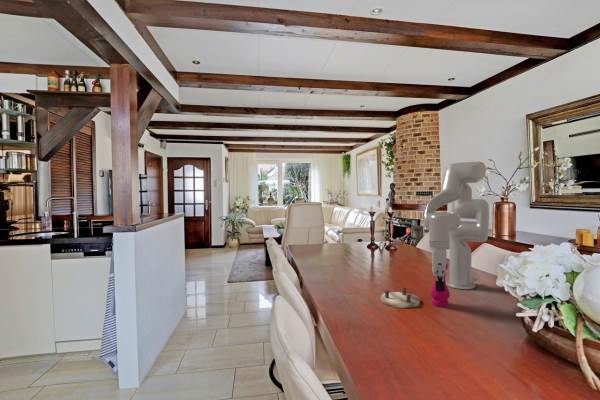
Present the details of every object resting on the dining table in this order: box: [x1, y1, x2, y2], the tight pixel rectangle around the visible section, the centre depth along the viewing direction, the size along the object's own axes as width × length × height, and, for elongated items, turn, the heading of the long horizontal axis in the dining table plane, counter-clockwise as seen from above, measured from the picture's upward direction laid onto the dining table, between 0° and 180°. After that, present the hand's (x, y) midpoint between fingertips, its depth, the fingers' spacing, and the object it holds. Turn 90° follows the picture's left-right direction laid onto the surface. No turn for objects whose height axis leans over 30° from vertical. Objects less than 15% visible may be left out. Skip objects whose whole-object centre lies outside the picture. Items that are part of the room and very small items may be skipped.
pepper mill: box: [430, 262, 451, 308], centre depth 130 cm, size 7×7×20 cm
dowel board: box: [379, 286, 421, 309], centre depth 135 cm, size 16×16×4 cm
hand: (439, 288), depth 131 cm, fingers open, 5 cm apart
